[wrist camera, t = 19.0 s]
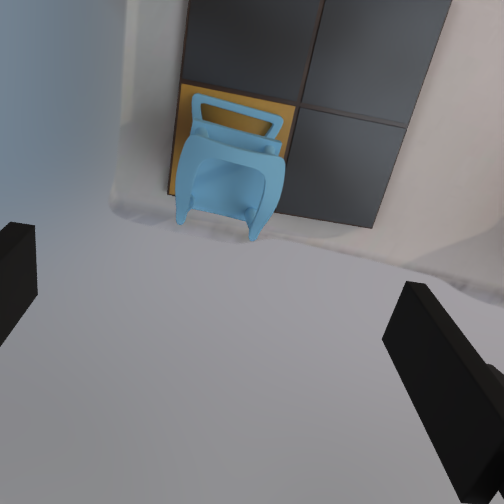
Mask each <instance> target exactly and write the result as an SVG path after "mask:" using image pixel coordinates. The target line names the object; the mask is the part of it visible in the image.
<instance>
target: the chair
mask: <svg viewBox="0 0 504 504" xmlns="http://www.w3.org/2000/svg"><path fill="white" fill-rule="evenodd" d="M202 103H205V104H209V105H212V106H215V107H219V108H222V109H226V110H229V111H233V112H236V113H240V114H243V115H247V116H250V117H253V118H257V119H260V120H264V121H267V122H271V123H272V126H271V127H270V129H269V130H268V131H267V133H266V134H265V136H260V135H256V134H252V133H248V132H244V131H241V130H237V129H233V128H229V127H226V126H223V125H219V124H216V123H212V122H209V121H205V120H202V113H201V104H202ZM192 119H193V123H192V128H191V133H190V136H189V137H188V139H187V140H186V142H185V144H184V147H183V149H182V152H181V155H180V159H179V163H178V168H177V172H176V180H175V197H176V222H177V224H179V225H182V224H183V223H184V222H185V219H186V216H187V213H188V211H189V210H190V209H196V210H201V211H205V212H210V213H214V214H219V215H223V216H227V217H231V218H235V219H238V220H242V221H246V222H247V225H248V227H249V239H250V241H255V240H256V239H257V237H258V235H259V233H260V231H261V230H262V228H263V227H264V225H265V224H266V223H267V221H268V220H269V218H270V217H271V215H272V214H273V212H274V210H275V208H276V207H277V204H278V202H279V199H280V195H281V192H282V188H283V183H284V176H285V161H284V159H283V158H282V157H279V153H280V149H281V146H282V142H281V141H279V140H276V139H275V137H276V136H277V134H278V133H279V131H280V129H281V127H282V124H283V118H282V117H281V116H279V115H277V114H273V113H269V112H266V111H262V110H258V109H255V108H251V107H248V106H244V105H240V104H237V103H233V102H229V101H226V100H222V99H218V98H215V97H211V96H208V95H204V94H200V93H196V94H194V95H193V97H192Z"/></svg>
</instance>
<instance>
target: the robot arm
mask: <svg viewBox="0 0 504 504" xmlns="http://www.w3.org/2000/svg"><path fill="white" fill-rule="evenodd" d="M35 242H36V241H35V225H29V224H22V223H16V222H10V223H8V225H6V226H5V227H4V228H3V229H2V230H1V231H0V346H1V345H2V344H3V342H4V341H5V340H6V338H7V337H8V335H9V334H10V333H11V331H12V330H13V328H14V327H15V325H16V324H17V323H18V321H19V320H20V318H21V317H22V315H23V314H24V313H25V312H26V310H27V309H28V307H29V306H30V305H31V303H32V302H33V300H34V299H35V297H36V296H37V295H38V289H37V265H36V243H35ZM382 341H383V343H384V345H385V347H386V349H387V351H388V353H389V355H390V357H391V359H392V361H393V363H394V365H395V368H396V370H397V371H398V374H399V376H400V378H401V380H402V382H403V384H404V386H405V388H406V390H407V392H408V394H409V396H410V398H411V401H412V403H413V405H414V407H415V409H416V411H417V413H418V415H419V417H420V419H421V421H422V423H423V425H424V427H425V429H426V432H427V434H428V435H429V438H430V440H431V442H432V444H433V446H434V448H435V450H436V452H437V454H438V456H439V458H440V460H441V463H442V464H443V466H444V469H445V471H446V473H447V475H448V477H449V479H450V481H451V483H452V485H453V487H454V489H455V491H456V493H457V496H458V498H459V500H460V502H461V503H468V504H489V503H490V501H491V500H492V498H493V497H494V496H495V494H496V493H497V491H498V490H499V492H500V493H501V495H502V497H503V499H504V374H502V373H501V372H500V371H499V370H498V369H496V368H495V367H494V366H493V365H490V364H486V363H485V362H484V361H483V359H482V358H481V357H480V355H479V354H478V353H477V352H476V350H475V349H474V347H473V346H472V345H471V343H470V342H469V341H468V340H467V338H466V337H465V335H463V333H462V331H461V330H460V329H459V327H458V326H457V325H456V324H455V322H454V321H453V320H452V318H451V317H450V316H449V314H448V313H447V312H446V310H445V309H444V308H443V307H442V305H441V304H440V302H439V301H438V300H437V298H436V297H435V296H434V294H433V293H432V292H431V291H430V289H429V288H428V287H427V285H426V284H423V283H417V282H409V281H406V283H405V285H404V287H403V290H402V292H401V295H400V297H399V299H398V302H397V304H396V306H395V309H394V311H393V314H392V316H391V318H390V321H389V323H388V325H387V328H386V330H385V333H384V335H383V337H382Z"/></svg>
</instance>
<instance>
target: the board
mask: <svg viewBox="0 0 504 504" xmlns="http://www.w3.org/2000/svg"><path fill="white" fill-rule="evenodd" d="M451 2H452V0H189V3H188V11H187V20H186V29H185V38H184V47H183V56H182V65H181V74H180V83H179V92H178V101H177V110H176V119H175V128H174V137H173V145H172V154H171V163H170V172H169V181H168V190H167V195H172V196H175V180H176V172H177V168H178V163H179V159H180V155H181V152H182V149H183V147H184V144H185V142H186V140H187V139H188V137H189V136H190V133H191V128H192V123H193V119H192V97H193V95H194V94H196V93H200V94H204V95H208V96H211V97H215V98H218V99H222V100H226V101H229V102H233V103H237V104H240V105H244V106H248V107H251V108H255V109H258V110H262V111H266V112H269V113H273V114H277V115H279V116H281V117H282V118H283V124H282V127H281V129H280V131H279V133H278V134H277V136H276V137H275V139H276V140H279V141H281V142H282V146H281V149H280V153H279V157H282V158H283V159H284V161H285V176H284V183H283V188H282V192H281V195H280V199H279V202H278V204H277V207H276V208H275V210H274V213H280V214H286V215H292V216H298V217H304V218H310V219H316V220H322V221H328V222H334V223H340V224H346V225H352V226H358V227H364V228H370V229H372V228H373V225H374V222H375V219H376V216H377V213H378V211H379V208H380V205H381V202H382V199H383V196H384V193H385V191H386V188H387V185H388V182H389V179H390V176H391V174H392V171H393V168H394V165H395V162H396V159H397V156H398V154H399V151H400V148H401V145H402V142H403V139H404V136H405V134H406V131H407V128H408V125H409V122H410V119H411V116H412V114H413V111H414V108H415V105H416V102H417V99H418V97H419V94H420V91H421V88H422V85H423V82H424V79H425V77H426V74H427V71H428V68H429V65H430V62H431V59H432V57H433V54H434V51H435V48H436V45H437V42H438V40H439V37H440V34H441V31H442V28H443V25H444V22H445V20H446V17H447V14H448V11H449V8H450V5H451ZM201 113H202V120H205V121H209V122H212V123H216V124H219V125H223V126H226V127H229V128H233V129H237V130H241V131H244V132H248V133H252V134H256V135H260V136H265V134H266V133H267V131H268V130H269V129H270V127H271V126H272V123H271V122H267V121H264V120H260V119H257V118H253V117H250V116H247V115H243V114H240V113H236V112H233V111H229V110H226V109H222V108H219V107H215V106H212V105H209V104H205V103H202V104H201Z"/></svg>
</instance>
